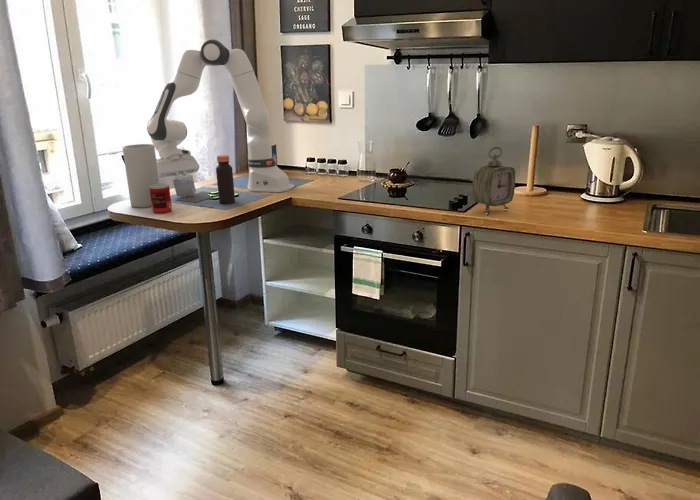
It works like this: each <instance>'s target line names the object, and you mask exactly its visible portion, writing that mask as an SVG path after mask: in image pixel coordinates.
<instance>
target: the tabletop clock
mask: <svg viewBox="0 0 700 500" xmlns="http://www.w3.org/2000/svg"><path fill="white" fill-rule="evenodd" d="M493 150H500V153H499V154H494V155H493V156H491V152H492V151H493ZM502 153H503V149H502V148H501V147H499V146H494V147H492V148H491V149H489V151H488V157H489V158H490V160H489V161H488V163H487V165H484V166H481V167H478V168H476V169H475V170H474V172H473V176H472V197H473V201H474V202H475V203H478V204H483V205H484V206H485V212H484V214H485V213H489V214H490V211H488V209H489V208H490V207H501V206H503V207H504V209H509V207H508V206H506V205H508V204H509V203H511V202H512V201H513V198H514V196H515V189H516V170H515V168H514V167H511V166H505V165H503V164H502V162H501V160H500V159H498V158H500V157H501V156H502ZM509 210H510V209H509Z"/></svg>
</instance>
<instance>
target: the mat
mask: <svg viewBox="0 0 700 500" xmlns="http://www.w3.org/2000/svg"><path fill="white" fill-rule="evenodd" d="M211 192H212V191H202V190H201V191H198V192H195V195H194V196H181V197H180V198H179V197H178V198H177V199H175V201H179V202H180V201H181V202H189V203H200V202H203V201H207V200H209V199H211V196H210V195H208V194H209V193H211Z"/></svg>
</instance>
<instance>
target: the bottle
mask: <svg viewBox="0 0 700 500" xmlns="http://www.w3.org/2000/svg"><path fill="white" fill-rule="evenodd" d="M216 161H217V163H218V165H217V166H216V168H215V173H216V175H215V176H216V183H217V193H218V202H219V204H222V205H229V204H233V203H235V202H236V197H235V196H236V195H235V187H234V183H235V182H234V174H233V167H232V166H231V165H230V164H229V163H230V156H229V155H228V154H221V155H220V154H219V155H217V156H216Z"/></svg>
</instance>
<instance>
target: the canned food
mask: <svg viewBox="0 0 700 500" xmlns="http://www.w3.org/2000/svg"><path fill="white" fill-rule="evenodd" d="M149 189H150V197H151V204H152V207H151V210H152V214H155V215H163V214H164V215H165V214H169V213H171V212H172V211H173V207H172V198H171V192H170V191H171V190H170V185H169V184H168V183H163V182H161V183H160V182H159V184H153V185H150V186H149Z"/></svg>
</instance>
